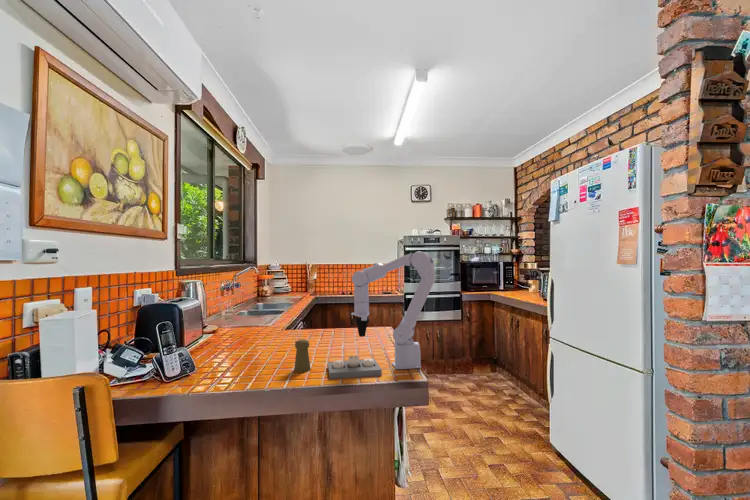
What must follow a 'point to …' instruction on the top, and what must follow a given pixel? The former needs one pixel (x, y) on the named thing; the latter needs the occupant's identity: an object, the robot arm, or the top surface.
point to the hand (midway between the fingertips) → (361, 336)
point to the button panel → (354, 370)
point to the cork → (302, 356)
